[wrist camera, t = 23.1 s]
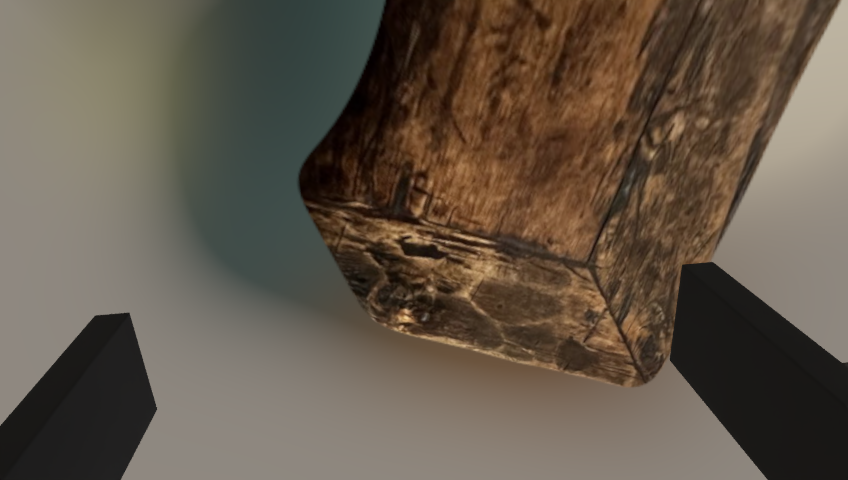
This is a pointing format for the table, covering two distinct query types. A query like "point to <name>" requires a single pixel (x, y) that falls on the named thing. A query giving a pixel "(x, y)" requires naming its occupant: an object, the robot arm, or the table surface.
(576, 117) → the table surface
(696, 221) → the table surface
